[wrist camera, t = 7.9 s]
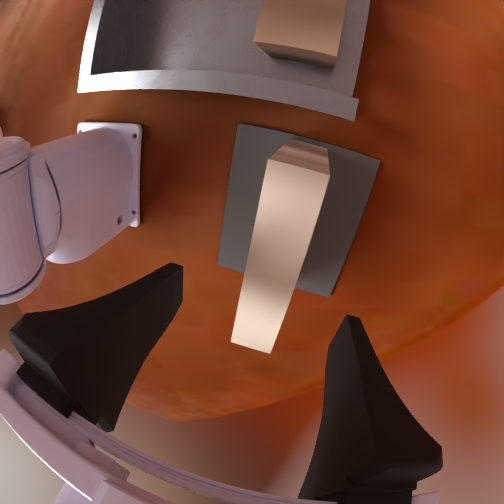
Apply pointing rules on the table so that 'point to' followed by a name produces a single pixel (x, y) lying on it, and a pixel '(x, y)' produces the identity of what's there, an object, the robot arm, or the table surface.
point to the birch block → (280, 240)
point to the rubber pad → (330, 216)
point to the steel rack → (213, 53)
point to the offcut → (301, 30)
